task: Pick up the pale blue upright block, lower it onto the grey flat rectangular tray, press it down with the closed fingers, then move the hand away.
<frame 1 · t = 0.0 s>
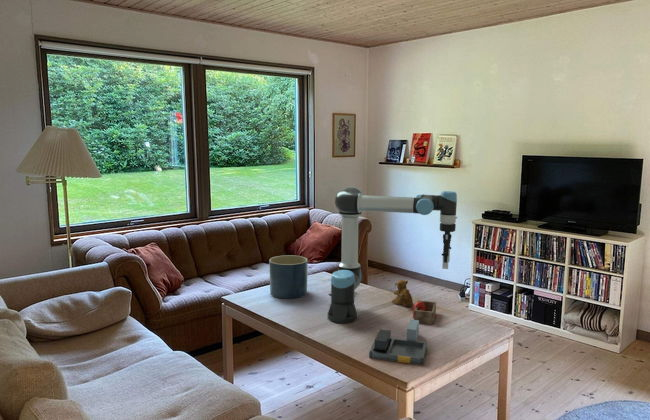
hand: (445, 265, 244), 28 cm above the table, fingers open, 13 cm apart
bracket: (425, 317, 250), resting in open wooden box
planter: (288, 293, 288), on the table
open wooden box: (425, 317, 250), on the table
grey flat rectangular tray: (398, 352, 209), on the table
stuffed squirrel: (403, 304, 270), on the table
smartphone: (342, 294, 288), on the table
pale blue upright block: (412, 339, 224), on the table
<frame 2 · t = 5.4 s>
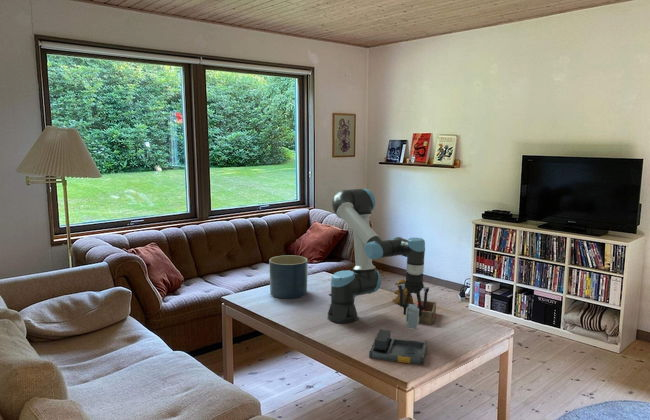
hand: (412, 322, 223), 8 cm above the table, fingers closed on pale blue upright block, 4 cm apart
pale blue upright block: (412, 323, 223), point 7 cm above the table, touching gripper
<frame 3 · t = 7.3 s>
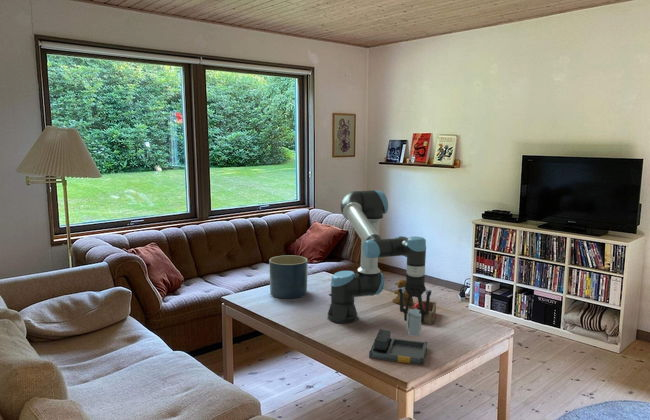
hand: (413, 328, 206), 11 cm above the table, fingers closed on pale blue upright block, 4 cm apart
pale blue upright block: (413, 330, 206), point 11 cm above the table, touching gripper
when the fingers open (2 cm above the table, at t = 9.4 s): pale blue upright block stays where it is, resting on grey flat rectangular tray.
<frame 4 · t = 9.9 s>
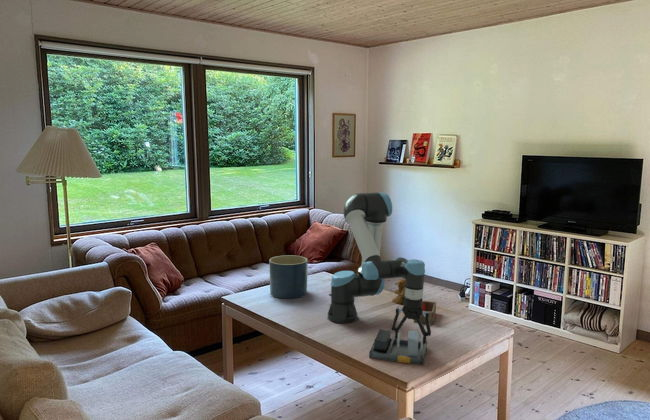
hand: (409, 348, 207), 3 cm above the table, fingers open, 9 cm apart
pale blue upright block: (412, 352, 207), point 1 cm above the table, touching grey flat rectangular tray
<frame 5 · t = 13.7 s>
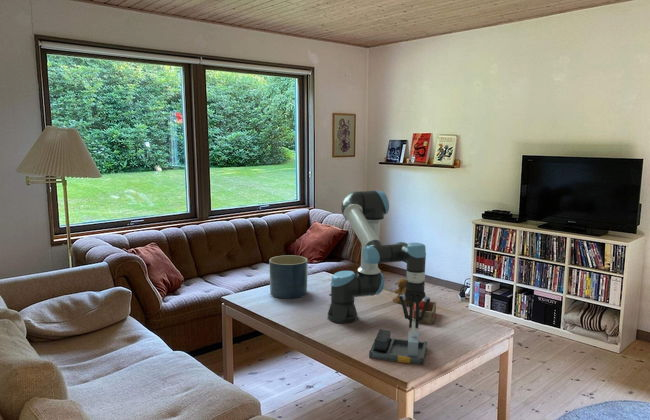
hand: (413, 335, 206), 9 cm above the table, fingers closed
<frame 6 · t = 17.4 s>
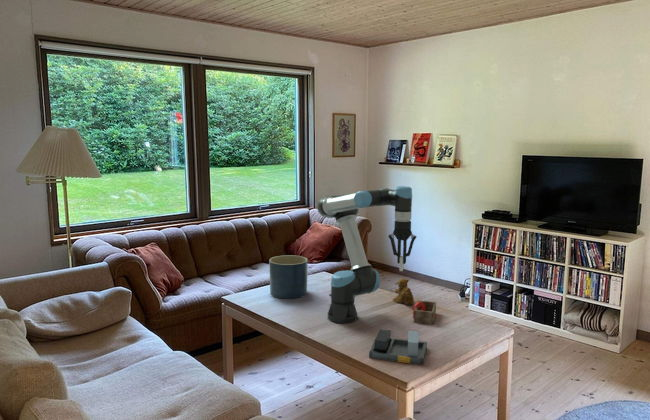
hand: (401, 270, 229), 29 cm above the table, fingers closed
at the end: pale blue upright block inside the target area on the grey flat rectangular tray (2.3 cm from its centre), point 1.0 cm above the grey flat rectangular tray's base; pale blue upright block tilted 0°; the gripper is holding nothing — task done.
